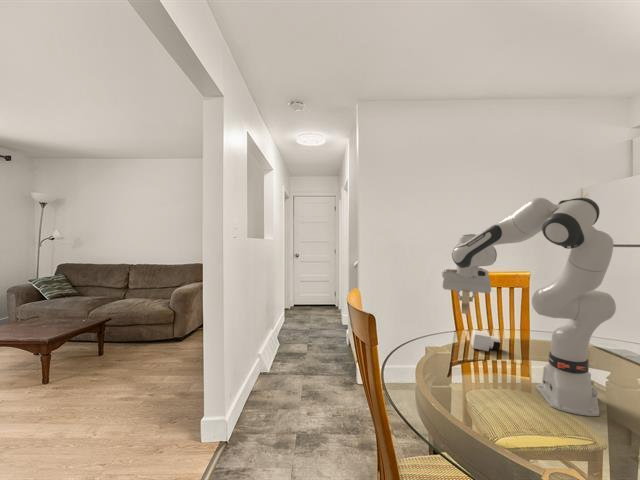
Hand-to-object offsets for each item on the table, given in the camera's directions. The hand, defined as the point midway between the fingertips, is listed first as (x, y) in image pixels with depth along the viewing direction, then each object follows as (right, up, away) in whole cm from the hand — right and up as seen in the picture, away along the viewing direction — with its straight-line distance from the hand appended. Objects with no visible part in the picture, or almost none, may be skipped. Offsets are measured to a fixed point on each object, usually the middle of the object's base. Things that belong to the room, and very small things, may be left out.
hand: (465, 300), depth 166 cm
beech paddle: (0, -5, +1) cm, 5 cm away
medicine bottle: (+9, -21, +14) cm, 26 cm away
